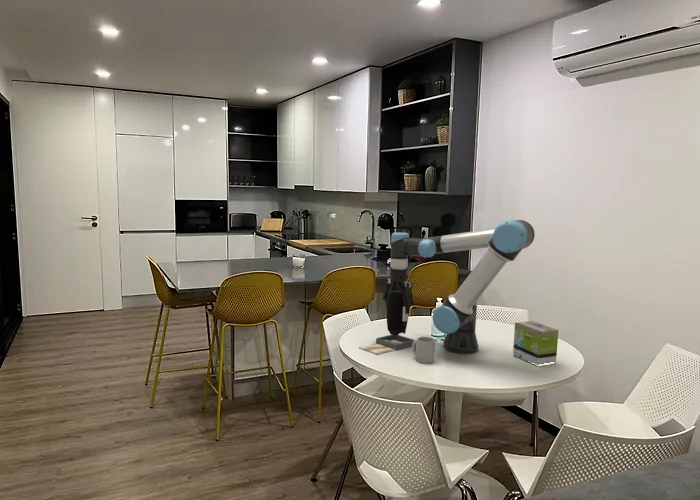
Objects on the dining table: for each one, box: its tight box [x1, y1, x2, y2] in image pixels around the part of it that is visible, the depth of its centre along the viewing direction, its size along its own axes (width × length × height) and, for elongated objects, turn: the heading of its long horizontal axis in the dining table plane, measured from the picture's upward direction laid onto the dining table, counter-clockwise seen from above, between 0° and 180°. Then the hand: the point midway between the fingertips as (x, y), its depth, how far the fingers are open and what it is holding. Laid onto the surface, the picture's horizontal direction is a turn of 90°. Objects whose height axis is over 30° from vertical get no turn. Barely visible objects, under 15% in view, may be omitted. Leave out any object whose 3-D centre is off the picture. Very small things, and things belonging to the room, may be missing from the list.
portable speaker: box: [386, 289, 409, 335], centre depth 227 cm, size 9×9×20 cm
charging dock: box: [375, 334, 415, 351], centre depth 228 cm, size 12×12×3 cm
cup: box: [411, 336, 436, 365], centre depth 208 cm, size 7×10×9 cm
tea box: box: [512, 320, 559, 365], centre depth 212 cm, size 15×10×15 cm
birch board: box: [358, 342, 395, 356], centre depth 220 cm, size 11×10×1 cm
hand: (397, 318), depth 227 cm, fingers closed on portable speaker, 9 cm apart
